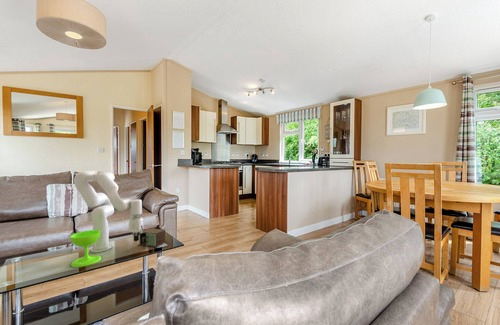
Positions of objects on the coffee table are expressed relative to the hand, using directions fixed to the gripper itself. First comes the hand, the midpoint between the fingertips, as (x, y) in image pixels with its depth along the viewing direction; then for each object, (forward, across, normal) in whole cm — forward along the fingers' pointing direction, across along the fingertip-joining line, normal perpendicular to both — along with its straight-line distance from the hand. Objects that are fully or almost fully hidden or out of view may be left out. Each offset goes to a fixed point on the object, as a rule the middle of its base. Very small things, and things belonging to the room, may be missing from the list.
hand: (136, 240), depth 167 cm
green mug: (+4, +9, +3) cm, 10 cm away
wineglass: (+6, -14, -27) cm, 31 cm away
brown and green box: (+5, +5, +11) cm, 13 cm away
